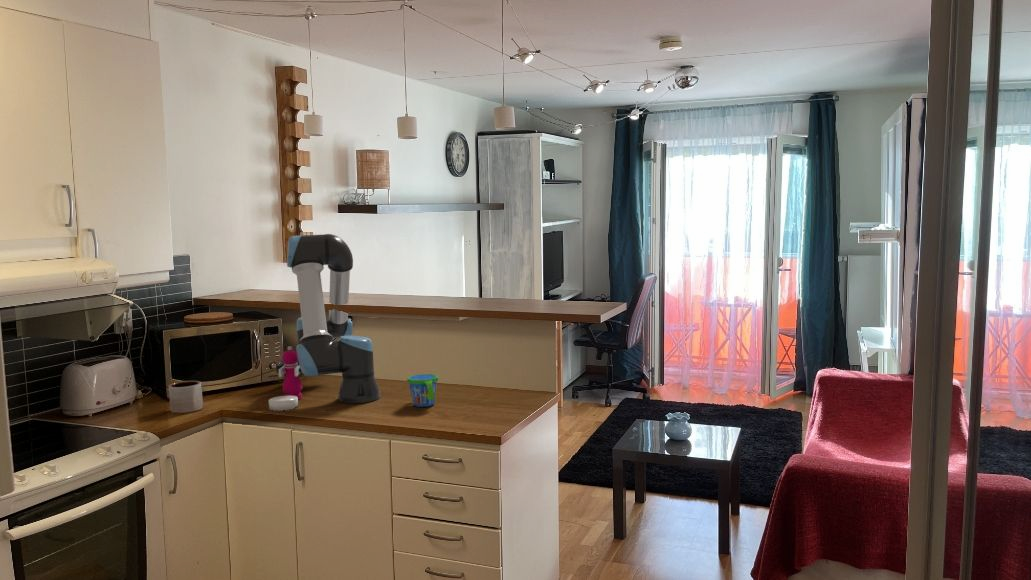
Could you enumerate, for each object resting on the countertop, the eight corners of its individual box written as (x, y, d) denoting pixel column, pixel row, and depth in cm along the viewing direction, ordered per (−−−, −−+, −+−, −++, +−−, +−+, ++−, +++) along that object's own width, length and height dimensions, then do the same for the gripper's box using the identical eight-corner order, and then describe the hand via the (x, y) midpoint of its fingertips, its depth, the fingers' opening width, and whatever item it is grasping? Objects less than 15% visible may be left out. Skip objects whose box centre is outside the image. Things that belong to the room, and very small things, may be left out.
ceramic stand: (304, 405, 280) (303, 396, 279) (284, 412, 271) (283, 403, 271) (283, 402, 284) (282, 394, 284) (263, 409, 276) (262, 401, 275)
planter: (163, 412, 276) (161, 386, 275) (187, 405, 286) (184, 379, 285) (187, 415, 272) (184, 388, 271) (210, 407, 282) (207, 381, 281)
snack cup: (404, 401, 280) (403, 374, 279) (433, 398, 283) (431, 370, 282) (414, 412, 265) (412, 382, 264) (444, 408, 269) (442, 379, 268)
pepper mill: (300, 401, 286) (296, 347, 284) (280, 401, 286) (276, 348, 284) (305, 396, 293) (302, 344, 291) (286, 396, 293) (283, 344, 291)
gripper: (326, 368, 307) (313, 382, 284) (280, 370, 306) (263, 384, 283) (324, 350, 306) (311, 361, 283) (278, 351, 305) (262, 363, 282)
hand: (287, 373), depth 283 cm, fingers closed on pepper mill, 5 cm apart
